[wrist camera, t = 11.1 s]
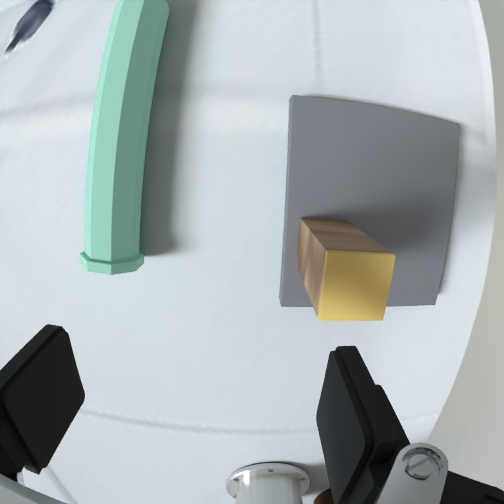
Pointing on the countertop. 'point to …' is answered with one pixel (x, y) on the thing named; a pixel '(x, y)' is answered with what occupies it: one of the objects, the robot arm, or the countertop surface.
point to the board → (372, 188)
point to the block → (343, 270)
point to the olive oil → (324, 498)
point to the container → (121, 136)
